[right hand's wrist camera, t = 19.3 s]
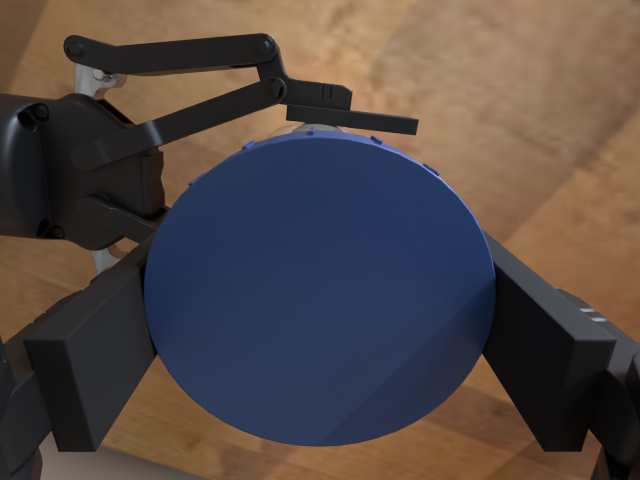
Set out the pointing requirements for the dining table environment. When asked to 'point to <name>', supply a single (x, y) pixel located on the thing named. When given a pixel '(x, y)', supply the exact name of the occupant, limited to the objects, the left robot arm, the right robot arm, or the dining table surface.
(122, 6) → the dining table surface
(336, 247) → the lid
